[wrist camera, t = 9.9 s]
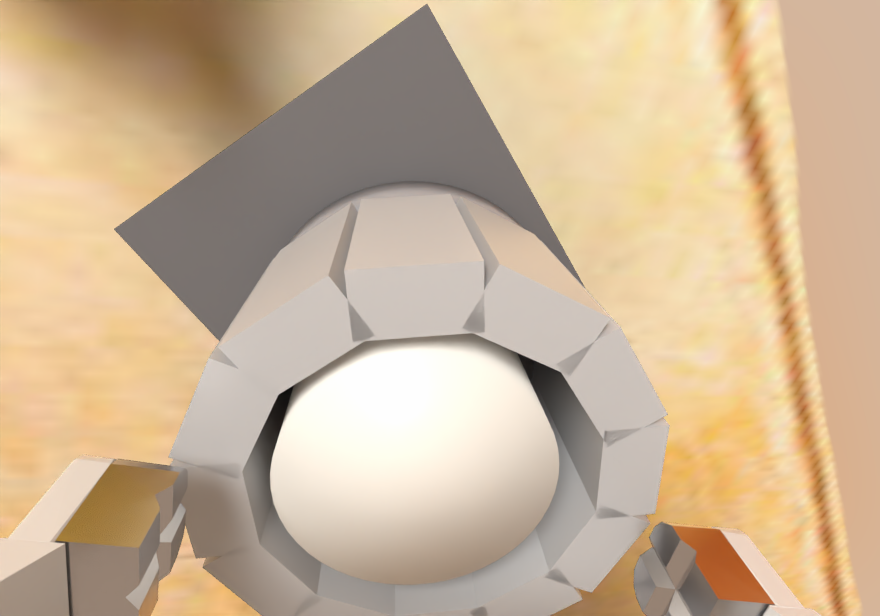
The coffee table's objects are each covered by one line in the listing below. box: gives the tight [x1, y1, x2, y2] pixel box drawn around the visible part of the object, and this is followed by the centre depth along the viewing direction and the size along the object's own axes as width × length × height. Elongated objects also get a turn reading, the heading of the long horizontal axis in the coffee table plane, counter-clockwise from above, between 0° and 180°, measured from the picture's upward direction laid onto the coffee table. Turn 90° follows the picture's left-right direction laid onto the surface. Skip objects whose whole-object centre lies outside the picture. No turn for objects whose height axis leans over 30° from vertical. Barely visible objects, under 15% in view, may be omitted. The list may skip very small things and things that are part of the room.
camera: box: [114, 4, 670, 616], centre depth 16 cm, size 14×10×13 cm
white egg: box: [270, 333, 559, 585], centre depth 12 cm, size 5×5×5 cm
